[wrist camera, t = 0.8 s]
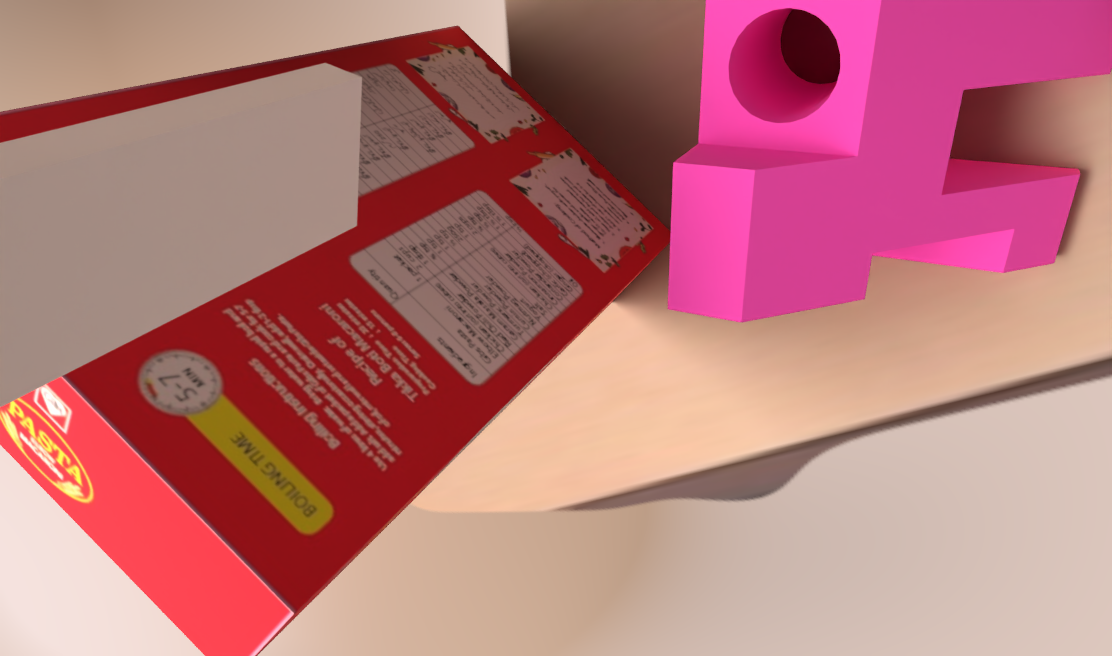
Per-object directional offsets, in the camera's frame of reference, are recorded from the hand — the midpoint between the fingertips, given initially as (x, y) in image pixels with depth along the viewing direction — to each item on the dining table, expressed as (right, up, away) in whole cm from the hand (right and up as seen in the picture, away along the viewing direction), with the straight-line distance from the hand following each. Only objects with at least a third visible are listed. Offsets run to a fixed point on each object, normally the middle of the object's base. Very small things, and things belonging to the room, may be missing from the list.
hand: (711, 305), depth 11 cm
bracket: (+12, +8, +18) cm, 23 cm away
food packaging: (-3, +8, +27) cm, 28 cm away
